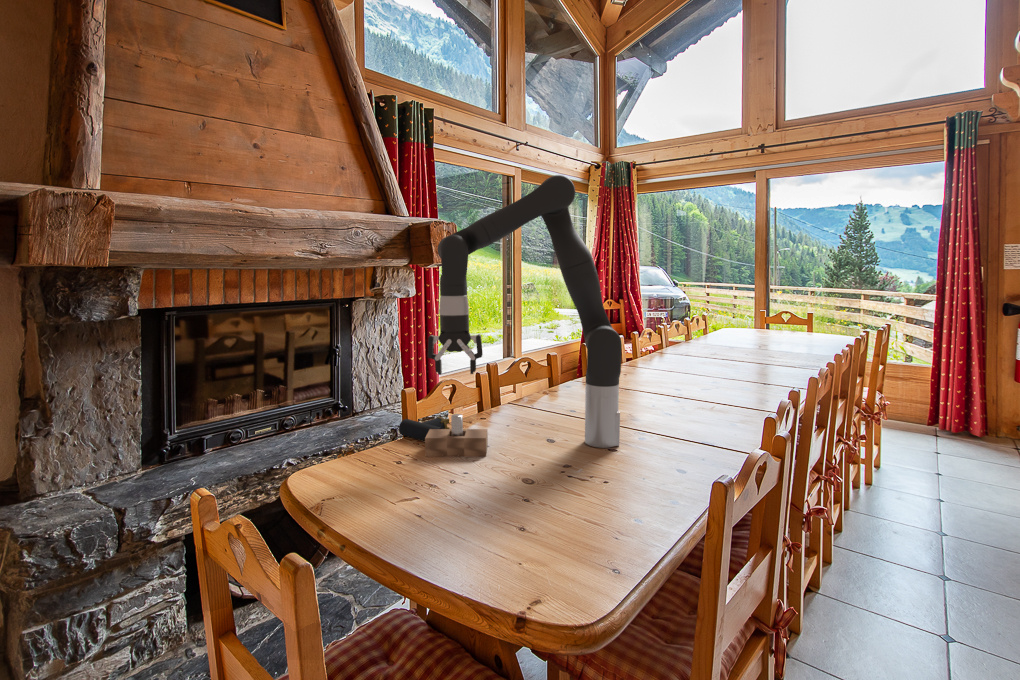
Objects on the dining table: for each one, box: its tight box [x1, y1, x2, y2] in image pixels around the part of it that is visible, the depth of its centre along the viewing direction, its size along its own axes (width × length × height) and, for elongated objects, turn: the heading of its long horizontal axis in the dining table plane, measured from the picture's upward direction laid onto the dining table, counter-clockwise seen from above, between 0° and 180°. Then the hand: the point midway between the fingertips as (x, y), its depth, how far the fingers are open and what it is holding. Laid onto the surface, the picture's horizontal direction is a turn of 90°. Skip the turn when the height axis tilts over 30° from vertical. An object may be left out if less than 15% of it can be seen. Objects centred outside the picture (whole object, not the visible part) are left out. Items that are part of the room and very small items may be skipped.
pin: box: [450, 413, 464, 436], centre depth 145 cm, size 3×3×10 cm
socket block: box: [424, 428, 489, 458], centre depth 145 cm, size 16×8×5 cm, turn 90°
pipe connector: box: [398, 416, 450, 443], centre depth 158 cm, size 12×5×15 cm
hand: (455, 373), depth 142 cm, fingers open, 8 cm apart
